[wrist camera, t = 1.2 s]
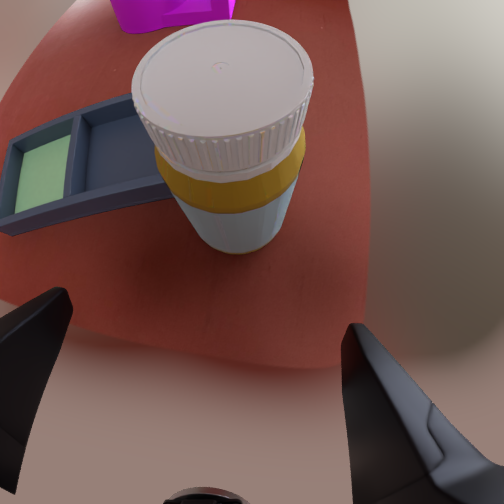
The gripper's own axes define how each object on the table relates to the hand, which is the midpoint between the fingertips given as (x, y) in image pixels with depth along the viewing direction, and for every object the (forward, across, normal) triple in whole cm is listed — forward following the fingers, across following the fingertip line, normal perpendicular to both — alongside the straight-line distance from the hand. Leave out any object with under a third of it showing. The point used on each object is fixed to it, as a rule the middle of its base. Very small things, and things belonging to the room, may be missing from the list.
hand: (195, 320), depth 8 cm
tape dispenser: (+35, +12, -18) cm, 41 cm away
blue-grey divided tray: (+18, +15, +1) cm, 23 cm away
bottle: (+15, 0, +4) cm, 16 cm away
